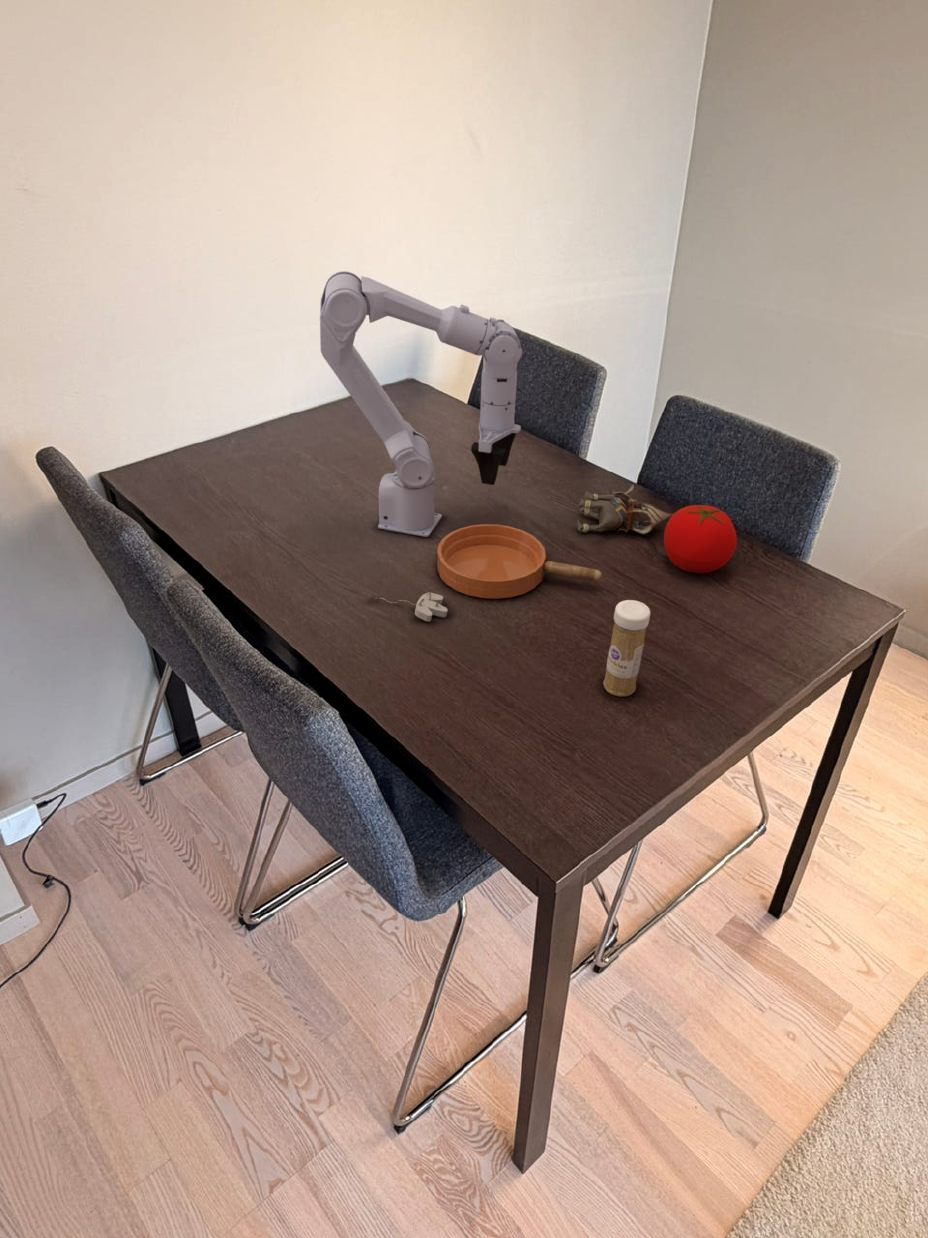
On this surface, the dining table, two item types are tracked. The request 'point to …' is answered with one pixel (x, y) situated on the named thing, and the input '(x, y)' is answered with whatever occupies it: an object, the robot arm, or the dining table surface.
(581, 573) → the pan handle
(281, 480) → the dining table surface
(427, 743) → the dining table surface
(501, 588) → the pan
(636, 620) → the sprinkles bottle
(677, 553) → the tomato
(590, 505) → the figurine
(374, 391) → the robot arm
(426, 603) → the game controller
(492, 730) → the dining table surface
